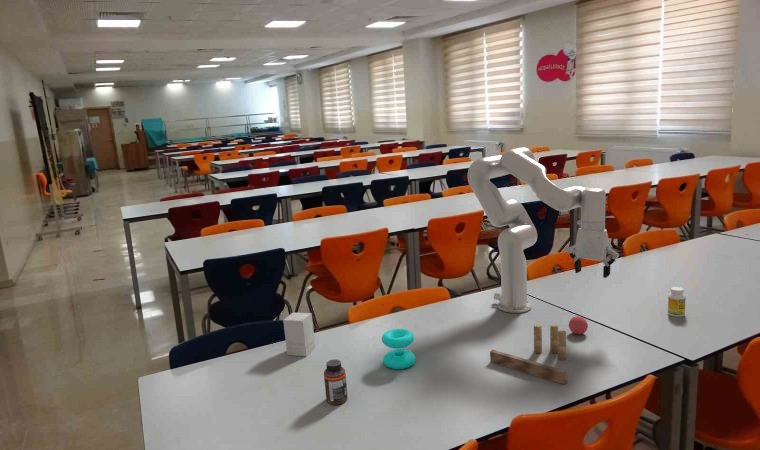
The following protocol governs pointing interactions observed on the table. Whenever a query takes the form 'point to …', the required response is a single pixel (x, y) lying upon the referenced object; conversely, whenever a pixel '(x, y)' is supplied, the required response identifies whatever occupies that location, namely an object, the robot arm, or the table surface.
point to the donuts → (398, 356)
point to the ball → (578, 325)
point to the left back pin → (537, 338)
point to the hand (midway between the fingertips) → (591, 274)
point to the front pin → (554, 338)
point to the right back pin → (562, 345)
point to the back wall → (529, 367)
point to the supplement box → (299, 334)
